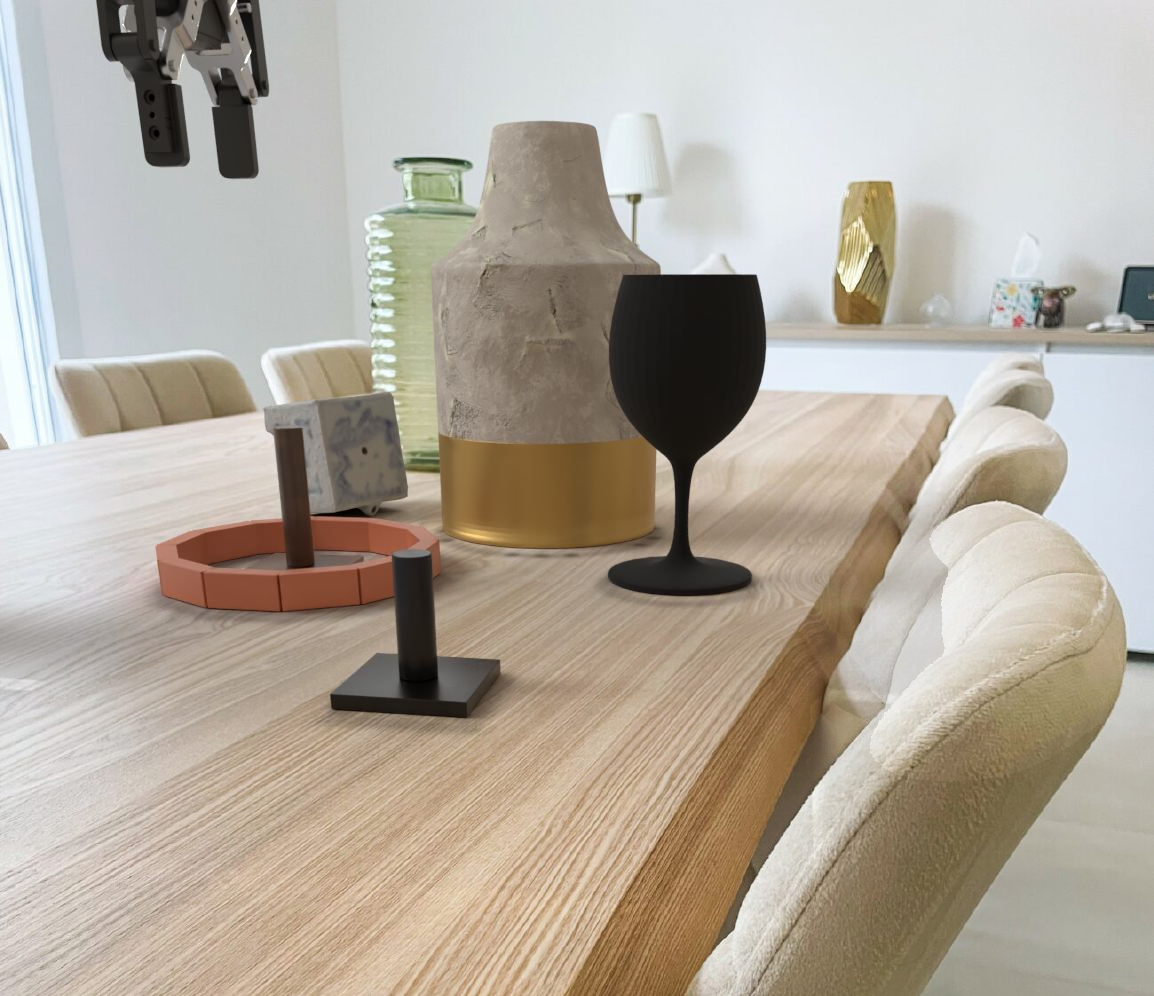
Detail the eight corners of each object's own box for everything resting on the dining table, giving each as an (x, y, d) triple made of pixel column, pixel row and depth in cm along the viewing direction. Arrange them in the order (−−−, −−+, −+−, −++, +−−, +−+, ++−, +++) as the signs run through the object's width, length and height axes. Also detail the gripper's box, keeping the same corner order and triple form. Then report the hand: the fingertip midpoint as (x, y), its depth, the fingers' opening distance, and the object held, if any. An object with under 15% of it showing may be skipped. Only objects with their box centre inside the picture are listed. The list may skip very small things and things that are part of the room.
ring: (106, 603, 76) (100, 567, 75) (236, 542, 94) (232, 513, 93) (386, 617, 73) (384, 579, 72) (466, 551, 91) (465, 521, 90)
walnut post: (235, 584, 81) (217, 431, 77) (276, 562, 87) (261, 420, 83) (330, 589, 80) (316, 433, 76) (364, 566, 86) (354, 421, 82)
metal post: (330, 709, 57) (318, 566, 55) (377, 666, 64) (368, 536, 61) (467, 717, 56) (461, 572, 53) (500, 673, 63) (497, 541, 60)
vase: (407, 540, 95) (382, 116, 83) (488, 502, 111) (477, 143, 99) (623, 554, 90) (629, 106, 78) (675, 512, 106) (687, 135, 94)
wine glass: (581, 570, 85) (581, 274, 77) (700, 555, 89) (712, 274, 81) (654, 602, 76) (662, 274, 68) (782, 584, 81) (803, 274, 73)
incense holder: (348, 500, 112) (339, 387, 108) (412, 508, 108) (405, 392, 104) (270, 515, 105) (258, 395, 100) (335, 525, 100) (325, 400, 96)
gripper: (164, -138, 65) (203, 184, 71) (7, -240, 52) (72, 163, 58) (289, -147, 64) (318, 181, 70) (161, -254, 51) (210, 159, 57)
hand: (206, 173), depth 64 cm, fingers open, 8 cm apart
